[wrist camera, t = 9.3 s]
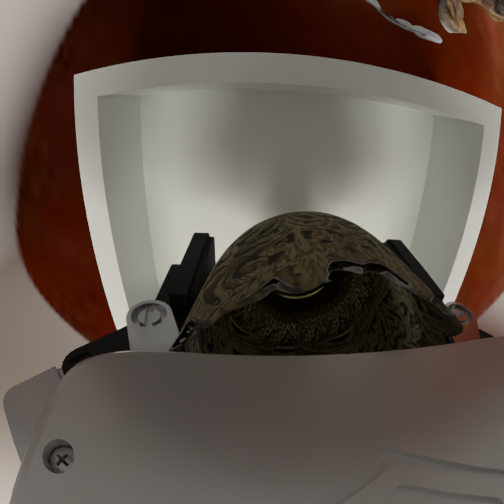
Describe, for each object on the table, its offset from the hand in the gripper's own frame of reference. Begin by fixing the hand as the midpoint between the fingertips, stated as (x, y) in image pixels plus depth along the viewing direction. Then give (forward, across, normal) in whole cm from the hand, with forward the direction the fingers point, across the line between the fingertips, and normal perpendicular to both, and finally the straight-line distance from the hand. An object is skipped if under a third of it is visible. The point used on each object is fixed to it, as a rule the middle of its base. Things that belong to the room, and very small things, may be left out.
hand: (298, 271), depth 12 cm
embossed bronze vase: (+2, 0, 0) cm, 2 cm away
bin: (+4, 0, 0) cm, 4 cm away
